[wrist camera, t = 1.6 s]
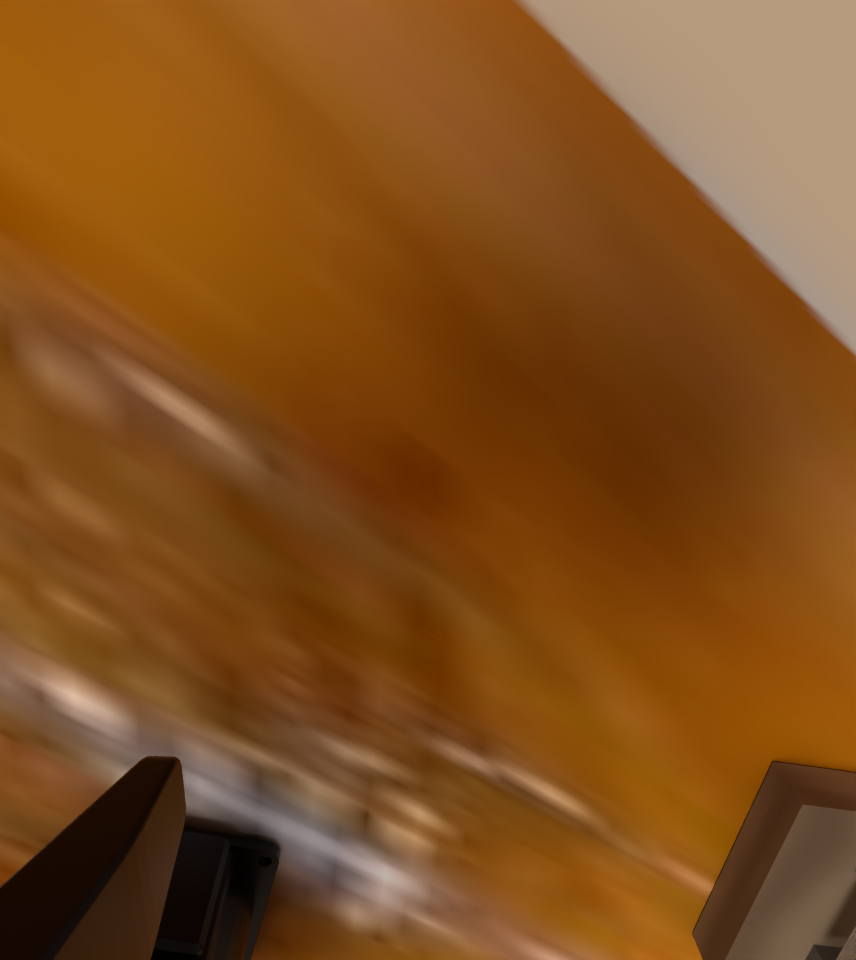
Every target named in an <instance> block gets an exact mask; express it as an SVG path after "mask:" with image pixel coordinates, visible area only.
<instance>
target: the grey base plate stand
mask: <svg viewBox="0 0 856 960" xmlns="http://www.w3.org/2000/svg"><path fill="white" fill-rule="evenodd" d="M855 926H856V773H854V772H847V771H839V770H832V769H825V768H817V767H810V766H802V765H795V764H788V763H780V762H772V764H771V767H770V769H769V771H768V773H767V775H766V777H765V779H764V782H763V784H762V786H761V788H760V790H759V792H758V794H757V797H756V799H755V801H754V803H753V805H752V807H751V809H750V811H749V814H748V816H747V818H746V820H745V822H744V824H743V826H742V829H741V831H740V833H739V835H738V837H737V839H736V841H735V844H734V846H733V848H732V850H731V852H730V854H729V856H728V859H727V861H726V863H725V865H724V867H723V869H722V871H721V874H720V876H719V878H718V880H717V882H716V884H715V886H714V888H713V891H712V893H711V895H710V897H709V899H708V901H707V903H706V906H705V908H704V910H703V912H702V914H701V916H700V918H699V921H698V923H697V925H696V927H695V929H694V931H693V933H692V934H693V937H694V939H695V941H696V944H697V946H698V949H699V951H700V954H701V956H702V958H703V960H836V959H837V957H838V955H839V953H840V952H841V950H842V948H843V947H844V945H845V943H846V941H847V940H848V938H849V936H850V934H851V933H852V931H853V929H854V928H855Z"/></svg>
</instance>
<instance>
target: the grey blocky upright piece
mask: <svg viewBox="0 0 856 960" xmlns="http://www.w3.org/2000/svg"><path fill="white" fill-rule="evenodd" d="M836 960H856V926H855V928H854V929H853V931H852V933H851V934H850V936H849V938H848V940H847V941H846V943H845V945H844V947H843V948H842V950H841V952H840V953H839V955H838V957H837V959H836Z"/></svg>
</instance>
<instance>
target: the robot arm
mask: <svg viewBox="0 0 856 960" xmlns="http://www.w3.org/2000/svg"><path fill="white" fill-rule="evenodd" d="M185 814H186V803H185V793H184V784H183V774H182V766H181V763H180V760H179V759H178V758H176V757H166V756H148V757H145V758H144V759H142V760H140V761H139V762H138V763H137V764H136V765H135V766H134V767H133V768H131V769H130V770H129V771H128V772H127V773H126V774H125V775H124V776H123V777H121V778H120V779H119V780H118V781H117V782H116V783H115V784H114V785H113V786H112V787H110V788H109V789H108V790H107V791H106V792H105V793H104V794H103V795H102V796H100V797H99V798H98V799H97V800H96V801H95V802H94V803H93V804H92V805H90V806H89V807H88V808H87V809H86V810H85V811H84V812H83V813H82V814H80V815H79V816H78V817H77V818H76V819H75V820H74V821H73V822H72V823H70V824H69V825H68V826H67V827H66V828H65V829H64V830H63V831H62V832H61V833H59V834H58V835H57V836H56V837H55V838H54V839H53V840H52V841H51V842H49V843H48V844H47V845H46V846H45V847H44V848H43V849H42V850H41V851H39V852H38V853H37V854H36V855H35V856H34V857H33V858H32V859H31V860H29V861H28V862H27V863H26V864H25V865H24V866H23V867H22V868H21V869H20V870H18V871H17V872H16V873H15V874H14V875H13V876H12V877H11V878H10V879H8V880H7V881H6V882H5V883H4V884H3V885H2V886H1V887H0V960H250V959H251V955H252V952H253V949H254V945H255V942H256V938H257V935H258V932H259V928H260V925H261V922H262V918H263V915H264V911H265V908H266V905H267V901H268V898H269V895H270V891H271V888H272V884H273V881H274V878H275V874H276V871H277V868H278V864H279V859H280V849H279V847H278V846H277V845H275V844H274V843H271V842H266V841H260V840H255V839H249V838H244V837H238V836H232V835H227V834H221V833H216V832H210V831H204V830H199V829H193V828H188V827H184V822H185ZM264 856H267V857H264Z"/></svg>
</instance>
